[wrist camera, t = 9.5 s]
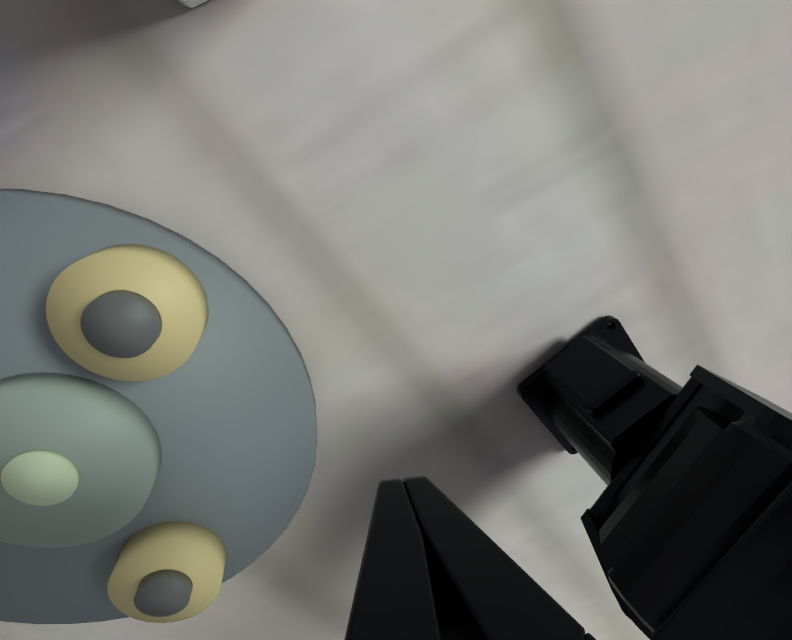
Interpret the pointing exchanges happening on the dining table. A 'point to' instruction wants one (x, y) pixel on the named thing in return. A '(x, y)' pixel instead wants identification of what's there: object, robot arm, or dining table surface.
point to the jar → (192, 2)
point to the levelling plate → (136, 417)
